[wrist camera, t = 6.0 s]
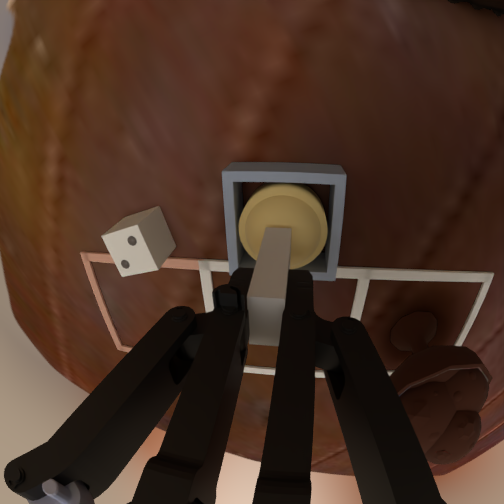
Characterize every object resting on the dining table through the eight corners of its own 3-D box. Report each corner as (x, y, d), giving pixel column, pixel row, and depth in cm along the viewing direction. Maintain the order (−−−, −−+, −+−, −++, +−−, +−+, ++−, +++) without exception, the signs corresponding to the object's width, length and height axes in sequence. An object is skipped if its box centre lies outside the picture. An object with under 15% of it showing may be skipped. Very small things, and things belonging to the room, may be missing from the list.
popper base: (231, 162, 21) (221, 171, 19) (340, 165, 20) (346, 174, 17) (237, 255, 25) (229, 275, 22) (332, 260, 24) (335, 281, 21)
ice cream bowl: (464, 278, 22) (532, 403, 9) (448, 354, 27) (479, 463, 14) (364, 298, 25) (391, 452, 12) (366, 371, 30) (375, 491, 17)
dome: (244, 176, 21) (228, 198, 17) (326, 178, 20) (334, 202, 16) (247, 248, 24) (234, 284, 20) (321, 251, 23) (325, 290, 19)
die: (125, 216, 25) (100, 236, 22) (159, 205, 24) (136, 225, 20) (142, 253, 27) (121, 277, 23) (176, 246, 26) (157, 270, 22)
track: (81, 251, 28) (80, 252, 28) (493, 272, 21) (494, 273, 21) (118, 348, 35) (117, 349, 35) (444, 371, 29) (445, 372, 28)
